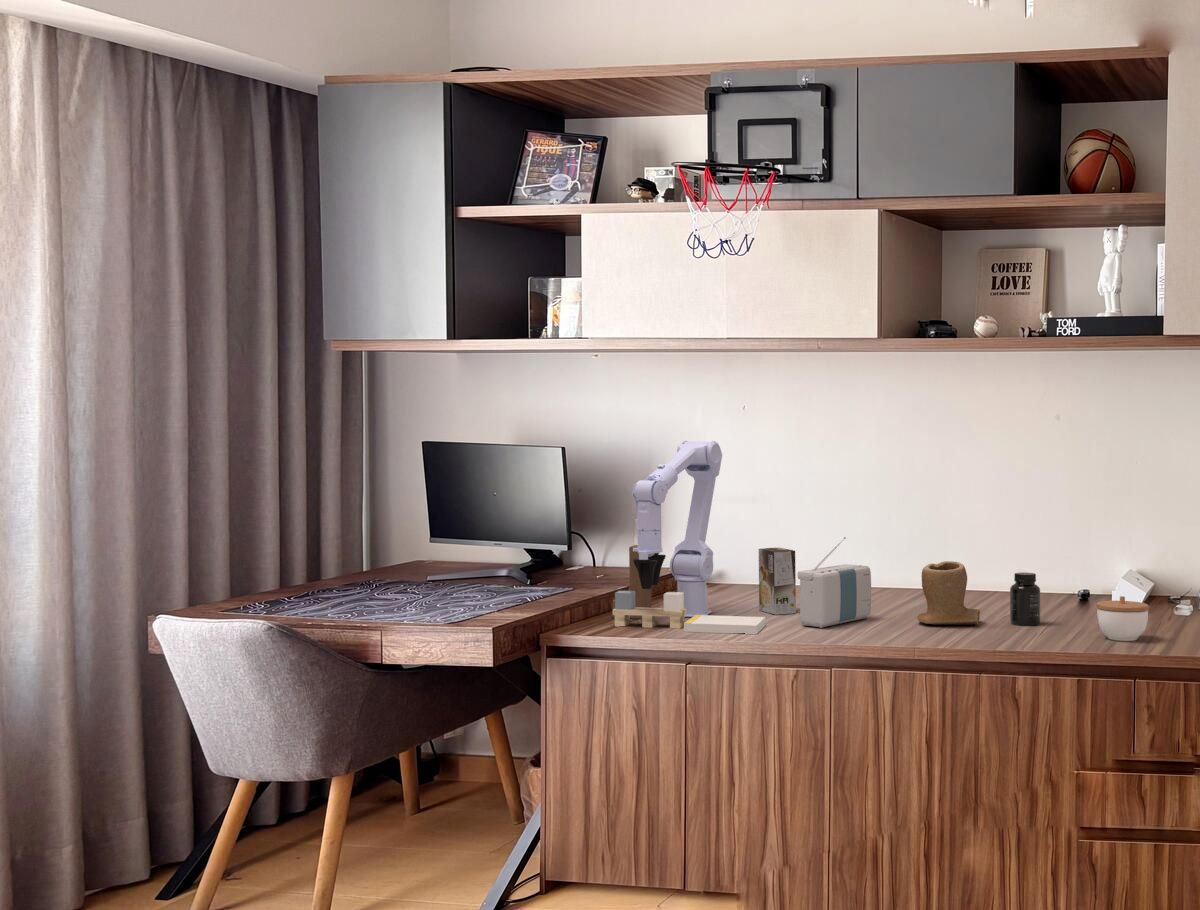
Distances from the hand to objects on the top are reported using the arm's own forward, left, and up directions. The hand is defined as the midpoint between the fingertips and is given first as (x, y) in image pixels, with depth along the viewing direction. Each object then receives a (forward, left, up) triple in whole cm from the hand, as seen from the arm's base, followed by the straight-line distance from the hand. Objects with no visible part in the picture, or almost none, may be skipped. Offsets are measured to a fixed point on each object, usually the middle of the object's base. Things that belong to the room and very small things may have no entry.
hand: (649, 586), depth 319 cm
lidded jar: (-4, +106, -10) cm, 107 cm away
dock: (0, +18, -9) cm, 20 cm away
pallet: (0, 0, -9) cm, 9 cm away
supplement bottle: (-21, +86, -10) cm, 89 cm away
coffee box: (-28, +26, -10) cm, 40 cm away
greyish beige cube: (0, +6, -5) cm, 8 cm away
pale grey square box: (0, -6, -5) cm, 8 cm away
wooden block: (-12, -8, -10) cm, 17 cm away
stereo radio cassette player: (-14, +42, -10) cm, 46 cm away
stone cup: (-16, +69, -10) cm, 72 cm away
